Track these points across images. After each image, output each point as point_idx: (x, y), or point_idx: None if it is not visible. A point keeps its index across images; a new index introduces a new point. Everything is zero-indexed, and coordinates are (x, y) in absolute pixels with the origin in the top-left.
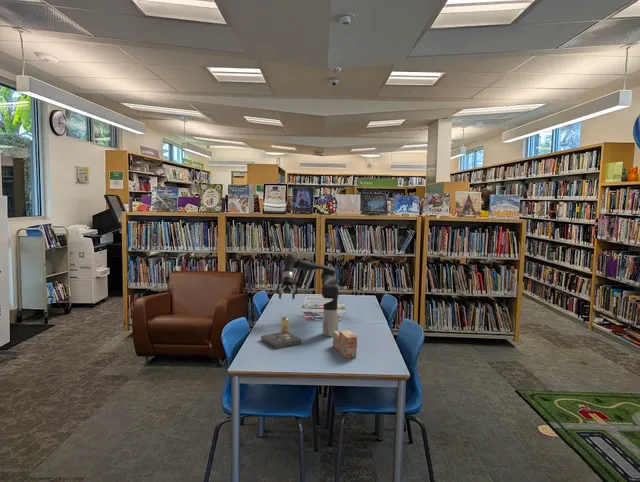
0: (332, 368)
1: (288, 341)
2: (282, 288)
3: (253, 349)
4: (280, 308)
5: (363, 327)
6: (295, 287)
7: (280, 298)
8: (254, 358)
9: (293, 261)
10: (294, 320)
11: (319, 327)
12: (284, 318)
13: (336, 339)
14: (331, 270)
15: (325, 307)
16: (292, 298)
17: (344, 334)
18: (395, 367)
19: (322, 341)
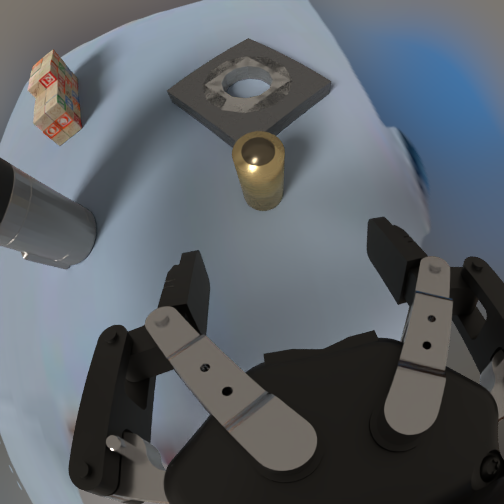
0: (115, 35)
1: (210, 61)
2: (446, 325)
3: (312, 40)
4: None
5: (5, 349)
6: (109, 437)
7: (371, 228)
8: (282, 12)
9: None
10: None
11: None
12: (259, 141)
13: (65, 96)
14: None
15: (4, 160)
16: (199, 256)
17: (49, 58)
18: (25, 93)
19: (103, 150)
